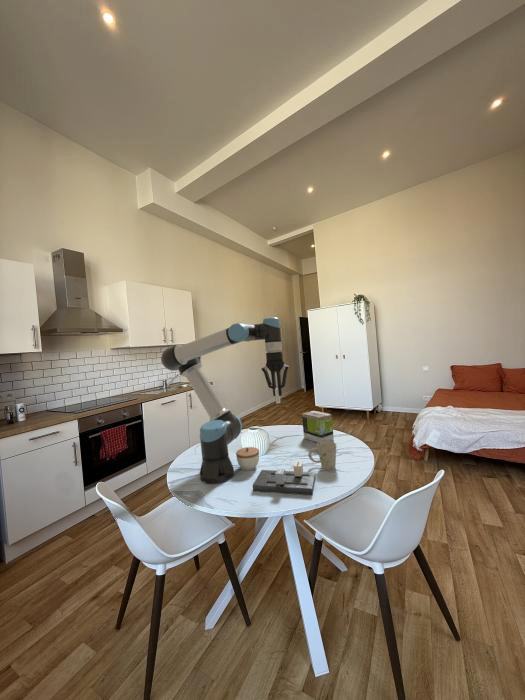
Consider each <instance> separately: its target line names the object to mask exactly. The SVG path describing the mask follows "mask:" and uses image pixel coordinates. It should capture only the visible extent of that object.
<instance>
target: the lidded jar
mask: <svg viewBox="0 0 525 700" xmlns="http://www.w3.org/2000/svg"><path fill="white" fill-rule="evenodd" d="M235 455H236V461H237V464H238V466H239V467H240V469H242V470H243V471H253V470H254V469H256V467H257V466H258V464H259V462H260V450H259V448H258V447H255V446H248V447H243V448H240V449H238V450H236V452H235Z"/></svg>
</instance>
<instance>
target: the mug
mask: <svg viewBox="0 0 525 700" xmlns="http://www.w3.org/2000/svg"><path fill="white" fill-rule="evenodd" d="M316 446H317V447H312V448H311V449H310V450H309V452H308V458H309V460H310V461H312V462H313V463H318V464H319V463H320V466H321V468H322V469H323V470H327V471H329V470H334V469H335V468H336V462H337V460H336V459H337V444H336V443H335V442H334V441H323V442H319V443H317V444H316ZM315 451H316V452H317V451H318V456H319V460H315V459H314V458H313V456H312V454H313V452H315Z"/></svg>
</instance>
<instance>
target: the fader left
mask: <svg viewBox="0 0 525 700" xmlns="http://www.w3.org/2000/svg"><path fill="white" fill-rule="evenodd" d="M293 471H294V476H302V474H303V472H304V467H303V461H295V462H294V464H293Z"/></svg>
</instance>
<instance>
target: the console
mask: <svg viewBox="0 0 525 700" xmlns="http://www.w3.org/2000/svg"><path fill="white" fill-rule="evenodd" d="M276 471H277V470H275V469H274V470H273V469H261V470H260V471H259V473H258V475H257V477H256V478H255V480H254V482H253V484H252V491H253V492H256V493H257V492H258V493H269V494H270V493H271V494H284V495H285V494H287V495H300V496H301V495H302V496H313V495H314V489H315V484H316V471H303V474H302V476H294V470H285V475H286V480H285V483H284V484H276V476H275V473H276Z"/></svg>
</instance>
